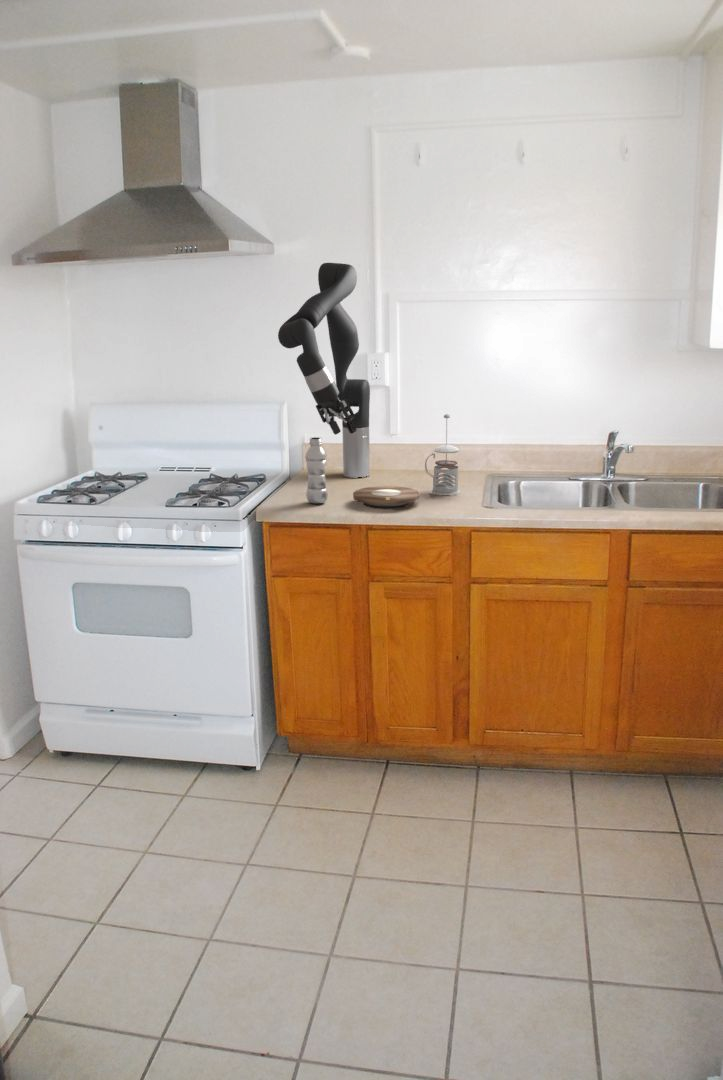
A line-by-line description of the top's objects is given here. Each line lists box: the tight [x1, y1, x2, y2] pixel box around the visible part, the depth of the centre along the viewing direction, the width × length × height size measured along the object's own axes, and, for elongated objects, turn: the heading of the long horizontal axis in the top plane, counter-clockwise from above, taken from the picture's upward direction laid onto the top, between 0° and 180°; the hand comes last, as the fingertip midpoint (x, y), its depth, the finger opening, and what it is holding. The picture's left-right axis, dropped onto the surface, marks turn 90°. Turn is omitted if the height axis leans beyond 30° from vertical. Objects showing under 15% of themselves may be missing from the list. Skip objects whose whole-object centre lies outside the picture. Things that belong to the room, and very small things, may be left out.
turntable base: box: [362, 503, 410, 510], centre depth 269 cm, size 14×14×2 cm
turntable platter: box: [352, 485, 420, 505], centre depth 269 cm, size 20×20×1 cm
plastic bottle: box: [305, 436, 328, 505], centre depth 268 cm, size 6×7×20 cm
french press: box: [424, 413, 461, 496], centre depth 280 cm, size 10×12×25 cm
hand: (345, 432), depth 266 cm, fingers open, 8 cm apart
